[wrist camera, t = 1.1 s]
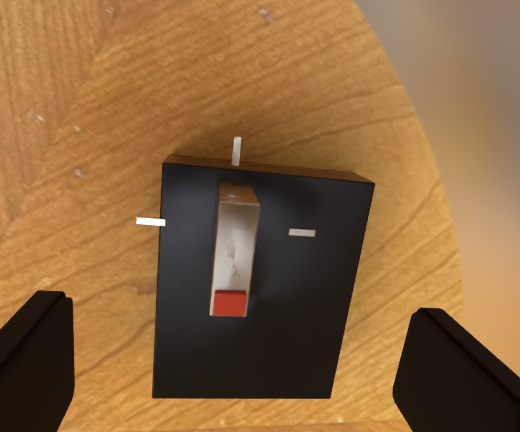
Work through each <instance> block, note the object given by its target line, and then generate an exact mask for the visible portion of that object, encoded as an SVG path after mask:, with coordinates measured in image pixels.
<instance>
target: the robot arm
mask: <svg viewBox="0 0 520 432" xmlns="http://www.w3.org/2000/svg"><path fill="white" fill-rule="evenodd" d="M74 388H75V377H74V333H73V301H72V298H70V297H66V296H65V293H64V292H63V291H42V290H39V291H37V292H36V293H35V294H34V295H33V296H32V297H31V298H30V299H29V300H28V301H27V302H26V303H25V304H24V305H23V306H22V307H21V308H20V309H19V310H18V311H17V312H16V314H15V315H14V316H13V317H12V318H11V319H10V320H9V321H8V322H7V323H6V324H5V325H4V326H3V327H2V328H1V329H0V432H57V430H58V428H59V426H60V424H61V422H62V420H63V418H64V416H65V413H66V411H67V409H68V407H69V405H70V403H71V401H72V398H73V394H74ZM393 399H394V401H395V403H396V405H397V407H398V408H399V410H400V412H401V413H402V415H403V416H404V418H405V420H406V421H407V423H408V425H409V426H410V428H411V430H412V431H413V432H520V377H518V376H517V375H516V374H515V373H514V372H513V371H512V370H511V369H509V368H508V367H507V366H506V365H505V364H504V363H503V362H501V361H500V360H499V359H498V358H497V357H496V356H495V355H494V354H492V353H491V352H490V351H489V350H488V349H487V348H486V347H484V346H483V345H482V344H481V343H480V342H479V341H478V340H477V339H475V338H474V337H473V336H472V335H471V334H470V333H469V332H468V331H466V330H465V329H464V328H463V327H462V326H461V325H460V324H458V323H457V322H456V321H455V320H454V319H453V318H452V317H451V316H449V315H448V314H447V313H446V312H445V311H444V310H442V309H440V308H419V309H418V310H417V312H415V313H413V314H412V316H411V320H410V323H409V327H408V331H407V335H406V339H405V343H404V347H403V351H402V354H401V358H400V362H399V366H398V370H397V374H396V378H395V382H394V385H393Z"/></svg>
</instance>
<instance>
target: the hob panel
mask: <svg viewBox="0 0 520 432" xmlns="http://www.w3.org/2000/svg"><path fill="white" fill-rule="evenodd" d="M241 140H242V137H237V136H234V143H233V154H232V161H230V160H220V159H210V158H200V157H190V156H181V155H169V156H168V157H167V158H166V160H165V161H164V162H163V164H162V185H161V207H160V218H152V217H139V216H137V220H136V224H144V225H158V226H160V229H159V252H158V274H157V296H156V318H155V341H154V363H153V385H152V398H189V399H330V397H331V392H332V388H333V383H334V378H335V373H336V369H337V364H338V359H339V354H340V349H341V345H342V340H343V335H344V330H345V326H346V321H347V316H348V311H349V306H350V302H351V297H352V292H353V287H354V283H355V278H356V273H357V268H358V264H359V259H360V254H361V249H362V244H363V240H364V235H365V230H366V225H367V221H368V216H369V211H370V206H371V201H372V197H373V192H374V187H375V183H374V182H371V181H369V180H367V179H365V178H363V177H361V176H359V175H357V174H355V173H349V172H339V171H329V170H319V169H309V168H299V167H289V166H280V165H270V164H260V163H250V162H240V161H239V159H240V150H241ZM219 178H221V179H232V180H243V181H249V182H250V184H251V187H252V189H253V191H254V193H255V195H256V197H257V199H258V201H259V203H260V212H259V220H258V229H257V237H256V245H255V253H254V261H253V269H252V277H251V285H250V294H249V302H248V310H247V316H246V317H235V316H211V315H209V278H210V259H211V248H212V236H213V225H214V214H215V202H216V191H217V180H218V179H219Z"/></svg>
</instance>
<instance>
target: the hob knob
mask: <svg viewBox="0 0 520 432" xmlns="http://www.w3.org/2000/svg"><path fill="white" fill-rule="evenodd" d="M259 212H260V203H259V201H258V199H257V197H256V195H255V193H254V191H253V189H252V187H251V184H250V182H249V181H243V180H232V179H221V178H219V179H218V180H217V191H216V202H215V214H214V225H213V236H212V248H211V259H210V278H209V315H211V316H235V317H246V316H247V310H248V302H249V294H250V285H251V277H252V269H253V261H254V253H255V245H256V237H257V229H258V220H259Z"/></svg>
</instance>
